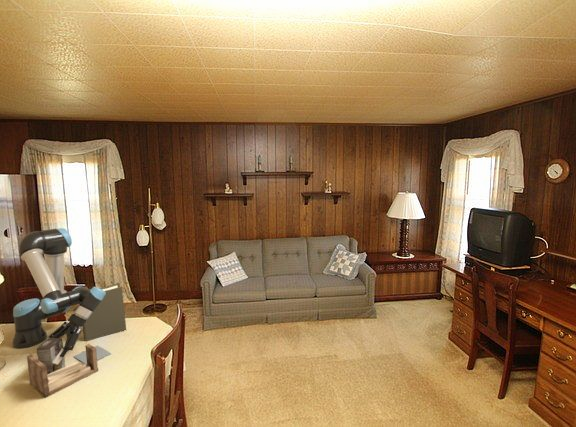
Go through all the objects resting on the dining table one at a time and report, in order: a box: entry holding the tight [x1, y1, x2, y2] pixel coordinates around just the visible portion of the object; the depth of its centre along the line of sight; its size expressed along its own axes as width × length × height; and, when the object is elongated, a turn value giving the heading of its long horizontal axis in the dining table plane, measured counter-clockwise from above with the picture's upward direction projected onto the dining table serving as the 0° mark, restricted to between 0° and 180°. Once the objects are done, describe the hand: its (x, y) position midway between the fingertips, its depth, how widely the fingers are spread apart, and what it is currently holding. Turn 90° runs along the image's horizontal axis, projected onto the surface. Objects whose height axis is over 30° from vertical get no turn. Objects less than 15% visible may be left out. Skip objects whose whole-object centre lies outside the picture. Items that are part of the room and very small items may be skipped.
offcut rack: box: [26, 343, 99, 399], centre depth 147 cm, size 16×22×14 cm
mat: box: [73, 345, 112, 365], centre depth 166 cm, size 14×12×1 cm
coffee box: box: [36, 337, 66, 374], centre depth 150 cm, size 9×6×16 cm
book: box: [82, 282, 127, 342], centre depth 187 cm, size 22×9×28 cm, turn 127°
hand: (48, 358), depth 148 cm, fingers open, 13 cm apart
